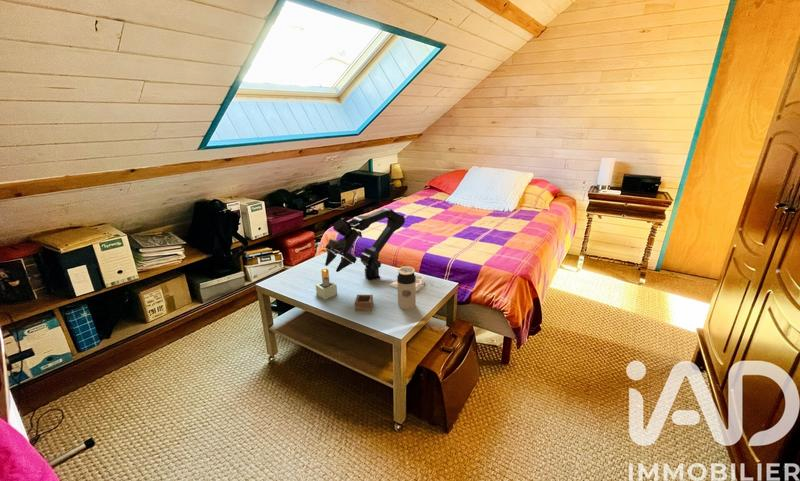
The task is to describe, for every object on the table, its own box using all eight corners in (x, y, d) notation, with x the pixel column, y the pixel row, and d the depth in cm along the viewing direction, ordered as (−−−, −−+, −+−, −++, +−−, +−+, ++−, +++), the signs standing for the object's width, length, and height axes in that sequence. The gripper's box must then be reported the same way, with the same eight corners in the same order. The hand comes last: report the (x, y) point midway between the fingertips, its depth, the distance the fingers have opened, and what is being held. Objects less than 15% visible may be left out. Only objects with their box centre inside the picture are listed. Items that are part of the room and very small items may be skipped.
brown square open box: (357, 304, 165) (357, 294, 163) (373, 304, 165) (372, 294, 163) (355, 312, 159) (354, 302, 157) (371, 312, 158) (370, 302, 156)
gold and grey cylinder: (331, 293, 173) (329, 269, 169) (328, 296, 170) (325, 272, 166) (326, 291, 174) (323, 268, 170) (322, 295, 172) (319, 271, 167)
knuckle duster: (406, 276, 190) (430, 284, 182) (385, 291, 177) (410, 299, 169) (406, 271, 189) (430, 278, 181) (385, 285, 175) (410, 293, 167)
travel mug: (400, 300, 167) (400, 265, 161) (417, 302, 165) (417, 267, 159) (395, 309, 160) (394, 273, 154) (413, 312, 158) (412, 275, 152)
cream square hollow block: (329, 290, 177) (328, 279, 175) (337, 295, 173) (336, 284, 170) (316, 295, 173) (315, 284, 171) (324, 301, 168) (323, 289, 166)
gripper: (326, 227, 174) (308, 255, 171) (349, 237, 161) (330, 267, 158) (341, 238, 182) (324, 265, 179) (364, 248, 169) (346, 277, 166)
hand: (331, 268), depth 170 cm, fingers open, 9 cm apart
